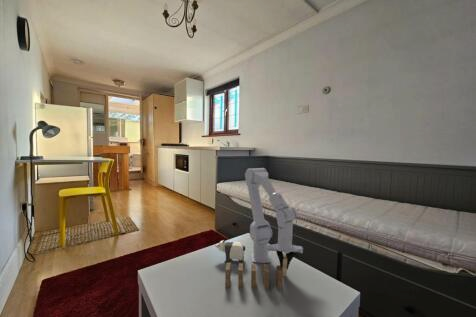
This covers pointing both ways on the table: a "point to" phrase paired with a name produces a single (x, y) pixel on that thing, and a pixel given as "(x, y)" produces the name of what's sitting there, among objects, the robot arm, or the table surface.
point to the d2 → (240, 275)
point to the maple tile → (284, 265)
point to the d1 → (227, 274)
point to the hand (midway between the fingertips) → (283, 267)
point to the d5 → (279, 277)
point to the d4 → (266, 277)
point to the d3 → (253, 276)
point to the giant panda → (232, 250)
